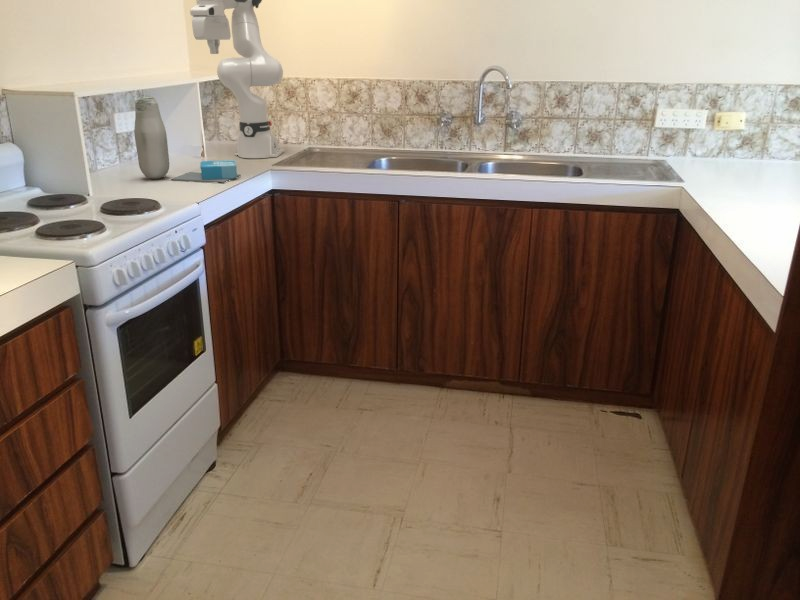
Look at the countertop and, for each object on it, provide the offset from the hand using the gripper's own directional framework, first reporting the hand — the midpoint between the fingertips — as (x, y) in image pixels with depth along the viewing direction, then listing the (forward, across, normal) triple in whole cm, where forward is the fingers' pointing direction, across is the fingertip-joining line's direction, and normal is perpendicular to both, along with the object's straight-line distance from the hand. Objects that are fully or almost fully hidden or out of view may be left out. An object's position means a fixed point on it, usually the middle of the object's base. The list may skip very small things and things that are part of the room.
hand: (214, 54), depth 234 cm
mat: (+41, +12, -1) cm, 43 cm away
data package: (+38, +5, 0) cm, 39 cm away
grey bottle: (+41, +17, -18) cm, 48 cm away
